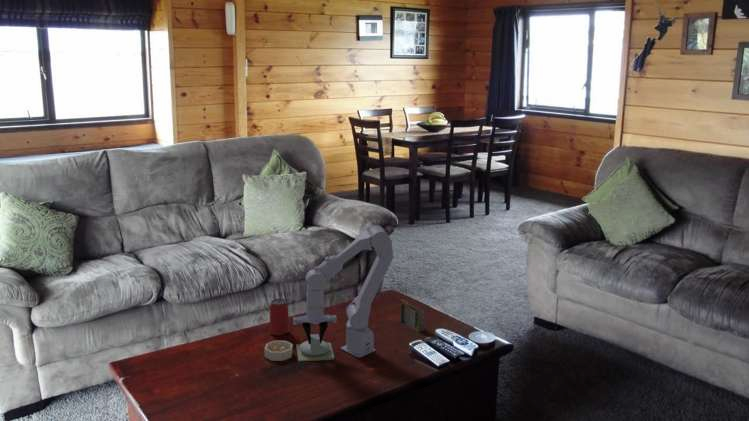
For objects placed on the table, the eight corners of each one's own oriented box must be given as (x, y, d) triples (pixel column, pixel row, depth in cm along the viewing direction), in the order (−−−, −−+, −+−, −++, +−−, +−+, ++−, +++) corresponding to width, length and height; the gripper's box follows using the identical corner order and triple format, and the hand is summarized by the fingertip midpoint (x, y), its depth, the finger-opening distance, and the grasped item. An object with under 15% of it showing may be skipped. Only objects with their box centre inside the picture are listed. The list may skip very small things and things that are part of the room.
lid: (327, 341, 236) (327, 329, 235) (331, 354, 227) (331, 342, 226) (299, 342, 234) (299, 331, 233) (301, 355, 225) (301, 344, 224)
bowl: (297, 354, 229) (297, 346, 228) (276, 363, 222) (276, 355, 222) (281, 346, 235) (281, 338, 234) (259, 354, 228) (259, 346, 228)
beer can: (290, 329, 249) (290, 298, 246) (286, 336, 242) (285, 305, 239) (272, 328, 249) (272, 297, 246) (268, 335, 243) (267, 304, 240)
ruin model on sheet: (399, 322, 258) (400, 298, 255) (405, 321, 259) (406, 297, 257) (417, 333, 249) (418, 308, 246) (423, 331, 250) (425, 307, 248)
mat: (330, 343, 238) (330, 342, 237) (334, 359, 226) (334, 358, 226) (296, 345, 235) (296, 344, 235) (298, 361, 224) (298, 360, 224)
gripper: (294, 310, 221) (294, 348, 225) (338, 308, 224) (337, 346, 227) (292, 302, 228) (292, 339, 231) (335, 300, 231) (334, 337, 234)
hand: (314, 342), depth 230 cm, fingers closed on lid, 3 cm apart
